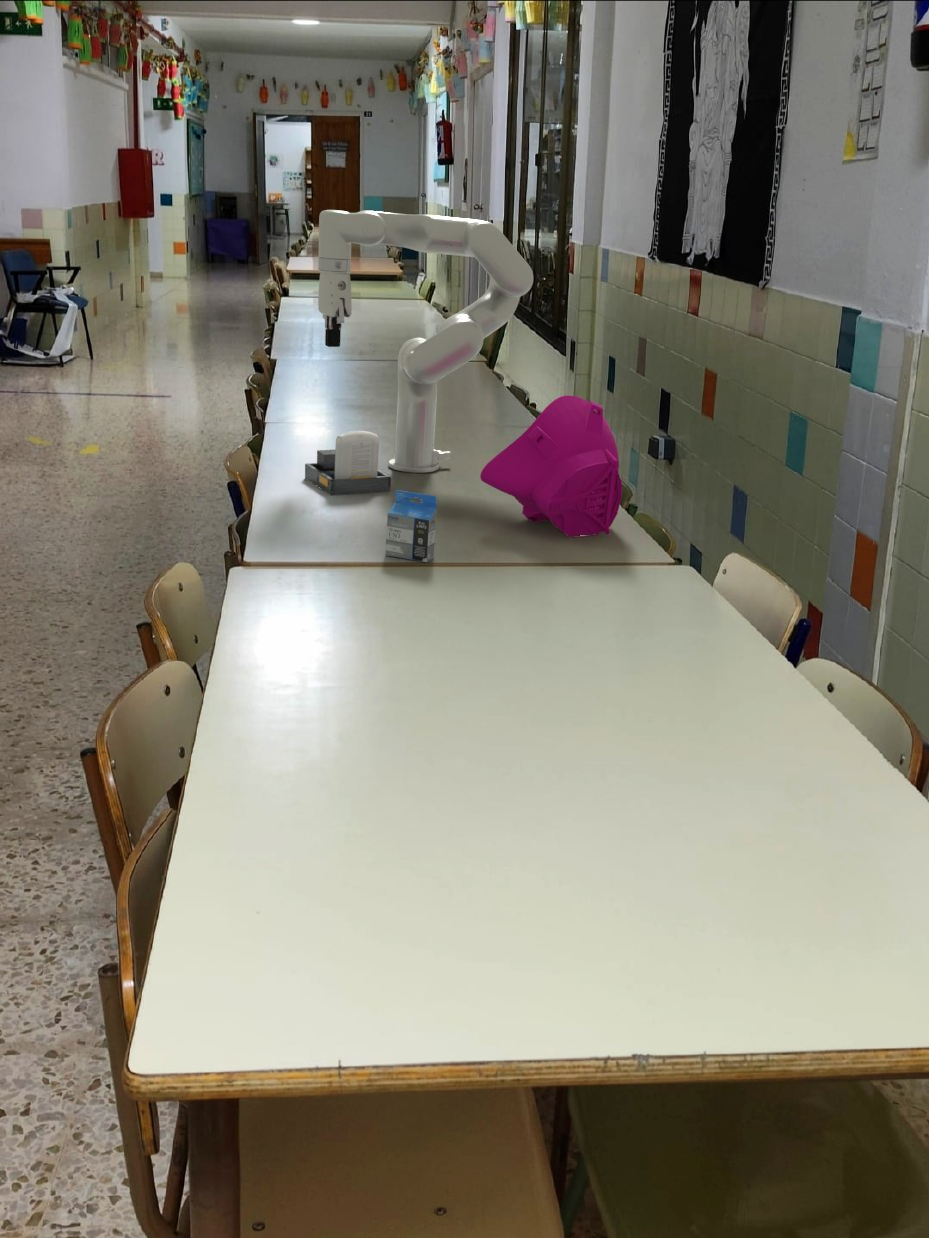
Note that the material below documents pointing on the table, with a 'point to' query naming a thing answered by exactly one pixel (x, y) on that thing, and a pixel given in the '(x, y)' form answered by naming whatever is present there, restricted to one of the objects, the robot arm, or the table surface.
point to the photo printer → (356, 454)
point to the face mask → (563, 468)
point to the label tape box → (411, 527)
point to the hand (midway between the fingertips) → (332, 346)
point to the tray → (325, 475)
